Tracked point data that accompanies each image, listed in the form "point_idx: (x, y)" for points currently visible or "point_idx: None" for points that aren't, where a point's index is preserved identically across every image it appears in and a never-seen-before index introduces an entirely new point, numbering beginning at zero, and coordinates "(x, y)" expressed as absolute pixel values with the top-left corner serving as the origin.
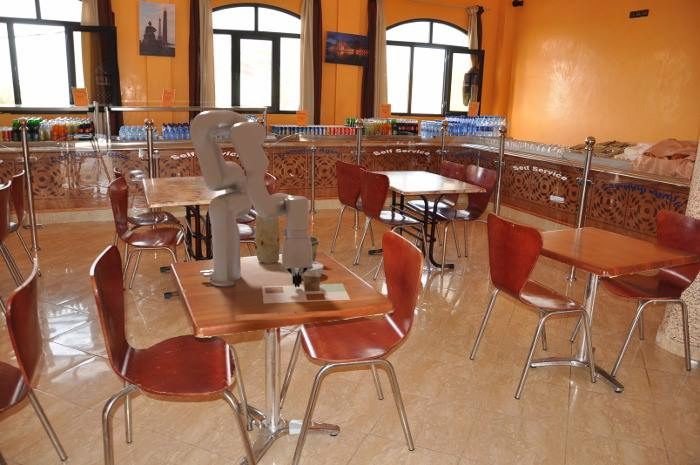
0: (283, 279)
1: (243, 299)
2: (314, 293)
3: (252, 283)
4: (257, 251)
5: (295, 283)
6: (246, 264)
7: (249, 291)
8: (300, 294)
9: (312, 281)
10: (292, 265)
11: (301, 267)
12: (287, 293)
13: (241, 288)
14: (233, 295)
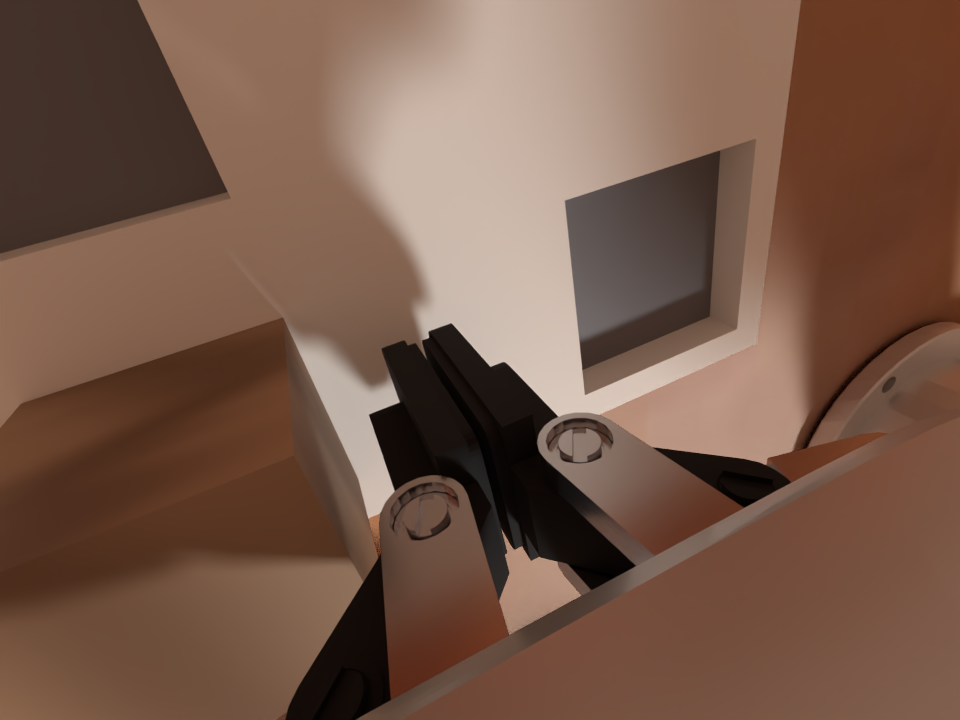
0: (568, 592)
1: (892, 53)
2: (52, 251)
3: (762, 446)
4: None
5: (463, 348)
6: None
7: (808, 283)
8: (311, 157)
9: (108, 459)
10: (923, 551)
11: (470, 668)
12: (517, 174)
13: (841, 332)
14: (925, 160)
